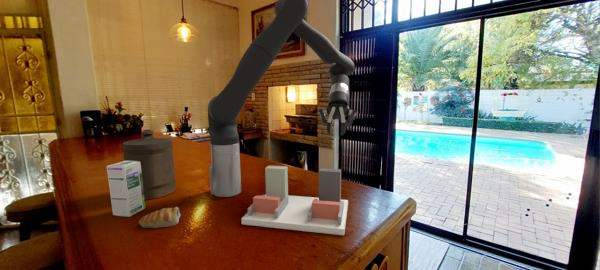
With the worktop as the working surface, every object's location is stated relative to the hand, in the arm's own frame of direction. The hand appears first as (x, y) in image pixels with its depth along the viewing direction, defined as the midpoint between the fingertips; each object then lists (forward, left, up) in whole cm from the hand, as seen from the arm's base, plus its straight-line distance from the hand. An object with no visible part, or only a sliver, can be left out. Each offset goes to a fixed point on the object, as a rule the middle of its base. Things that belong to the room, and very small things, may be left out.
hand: (335, 133), depth 87 cm
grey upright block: (0, -16, -19) cm, 24 cm away
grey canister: (-62, -15, -20) cm, 67 cm away
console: (-8, -21, -20) cm, 30 cm away
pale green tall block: (-16, -16, -19) cm, 29 cm away
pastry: (-42, -33, -21) cm, 57 cm away
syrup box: (-56, -30, -20) cm, 67 cm away
